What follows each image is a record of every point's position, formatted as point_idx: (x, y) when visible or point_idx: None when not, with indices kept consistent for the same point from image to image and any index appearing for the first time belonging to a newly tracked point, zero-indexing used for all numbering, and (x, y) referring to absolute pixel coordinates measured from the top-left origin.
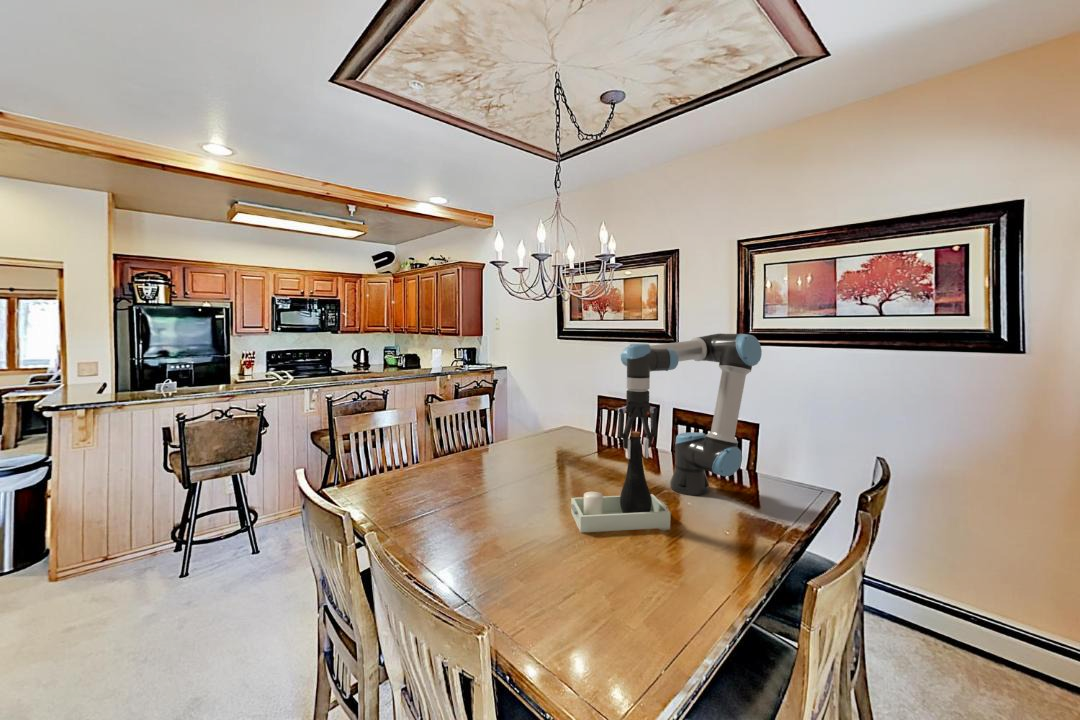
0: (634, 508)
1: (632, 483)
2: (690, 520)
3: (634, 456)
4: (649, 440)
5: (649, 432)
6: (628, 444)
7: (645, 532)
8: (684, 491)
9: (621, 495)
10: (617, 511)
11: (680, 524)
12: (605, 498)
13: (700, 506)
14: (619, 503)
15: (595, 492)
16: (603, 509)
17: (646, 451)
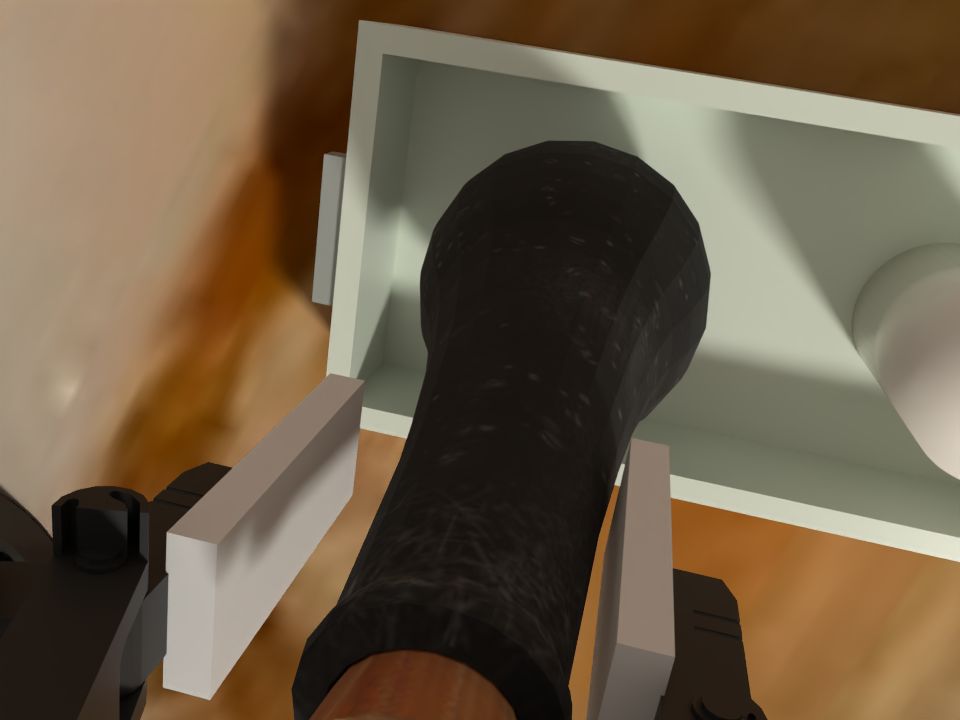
0: (646, 166)
1: (631, 274)
2: (183, 132)
3: (561, 426)
4: (149, 539)
5: (33, 638)
6: (669, 585)
7: (609, 38)
8: (22, 531)
9: (701, 336)
10: None
11: (284, 91)
12: (750, 488)
13: (15, 318)
14: None
15: (948, 453)
16: (757, 449)
17: (318, 423)
